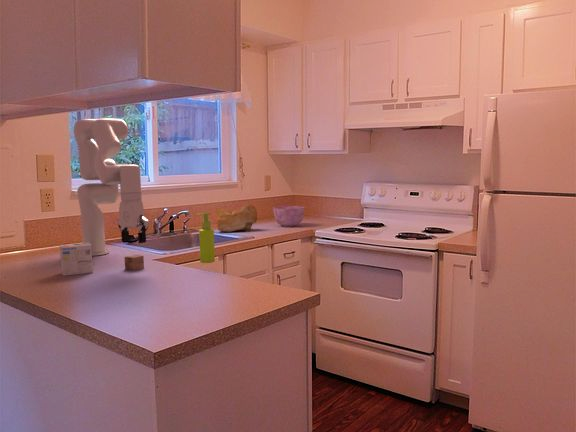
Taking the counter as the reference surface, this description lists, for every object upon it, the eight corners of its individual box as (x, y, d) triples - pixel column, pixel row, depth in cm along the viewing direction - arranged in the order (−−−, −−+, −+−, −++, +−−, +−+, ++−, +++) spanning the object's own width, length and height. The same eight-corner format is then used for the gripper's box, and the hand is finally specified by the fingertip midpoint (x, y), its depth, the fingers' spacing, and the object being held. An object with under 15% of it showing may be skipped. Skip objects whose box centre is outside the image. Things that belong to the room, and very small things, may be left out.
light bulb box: (90, 269, 199) (89, 241, 198) (93, 272, 193) (92, 244, 192) (60, 273, 194) (58, 244, 193) (62, 276, 188) (60, 247, 187)
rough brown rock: (254, 229, 312) (253, 204, 312) (258, 230, 296) (257, 204, 296) (216, 232, 308) (214, 207, 307) (218, 233, 292) (216, 207, 291)
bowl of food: (266, 226, 316) (265, 208, 315) (285, 223, 333) (285, 205, 331) (293, 229, 305) (292, 209, 304) (311, 225, 321) (311, 206, 320)
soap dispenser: (196, 261, 212) (195, 212, 210) (213, 259, 215) (211, 211, 212) (198, 263, 207) (197, 214, 205) (215, 262, 209) (214, 213, 207)
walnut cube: (125, 269, 199) (124, 256, 198) (135, 267, 203) (134, 254, 202) (133, 270, 196) (132, 257, 195) (144, 268, 200) (143, 255, 200)
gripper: (108, 198, 198) (111, 242, 200) (138, 198, 188) (141, 244, 190) (124, 196, 204) (127, 239, 206) (154, 197, 195) (156, 242, 196)
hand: (133, 242), depth 198 cm, fingers open, 9 cm apart
